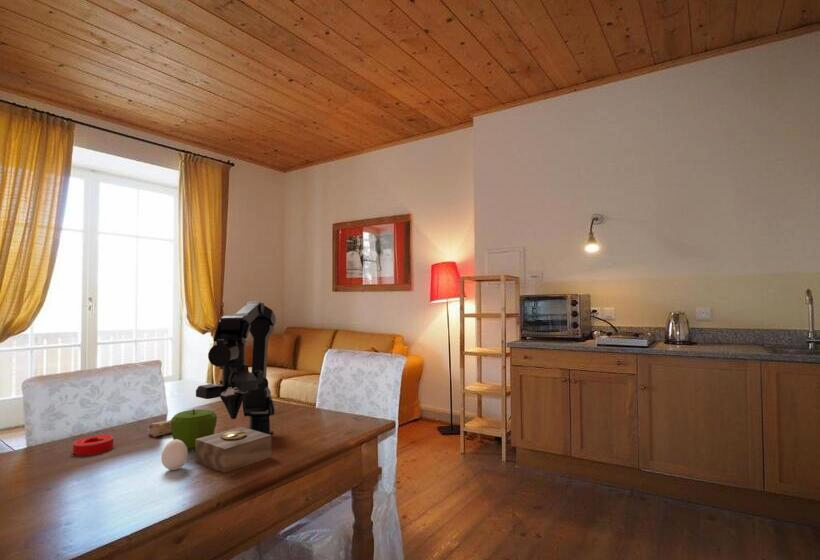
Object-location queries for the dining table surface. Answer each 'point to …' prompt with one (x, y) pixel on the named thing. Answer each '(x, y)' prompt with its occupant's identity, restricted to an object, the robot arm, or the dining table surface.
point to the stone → (160, 428)
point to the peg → (233, 435)
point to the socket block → (232, 450)
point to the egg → (174, 455)
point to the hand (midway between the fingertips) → (233, 418)
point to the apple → (193, 426)
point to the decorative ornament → (93, 445)
